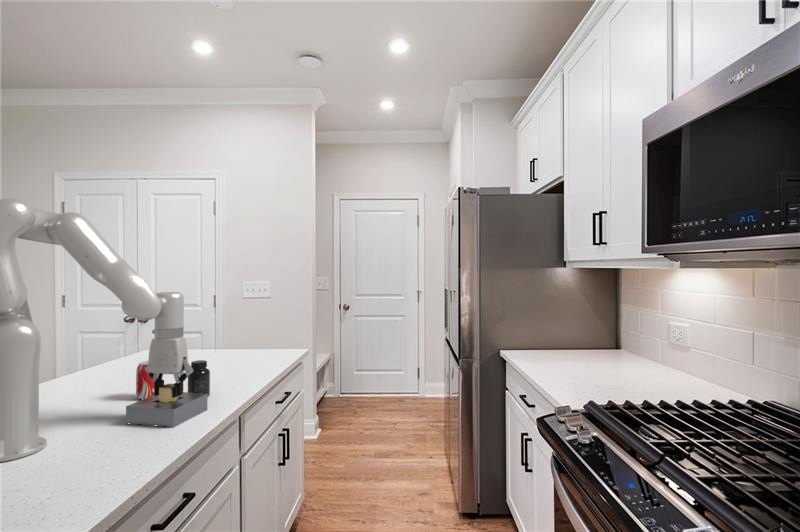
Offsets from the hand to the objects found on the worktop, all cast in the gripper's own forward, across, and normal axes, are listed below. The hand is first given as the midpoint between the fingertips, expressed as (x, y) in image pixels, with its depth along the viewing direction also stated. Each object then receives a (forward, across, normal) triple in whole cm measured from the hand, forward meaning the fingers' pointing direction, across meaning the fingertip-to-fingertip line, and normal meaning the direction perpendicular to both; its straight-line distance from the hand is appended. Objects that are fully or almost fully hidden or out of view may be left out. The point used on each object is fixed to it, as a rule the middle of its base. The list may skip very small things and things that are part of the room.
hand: (168, 394), depth 125 cm
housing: (+7, 0, 0) cm, 7 cm away
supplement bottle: (+7, -4, +19) cm, 20 cm away
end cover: (+7, 0, 0) cm, 7 cm away
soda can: (+7, -20, +15) cm, 25 cm away
